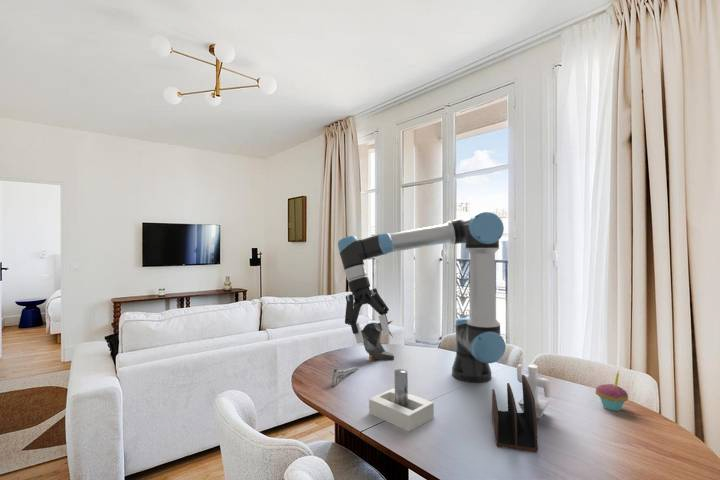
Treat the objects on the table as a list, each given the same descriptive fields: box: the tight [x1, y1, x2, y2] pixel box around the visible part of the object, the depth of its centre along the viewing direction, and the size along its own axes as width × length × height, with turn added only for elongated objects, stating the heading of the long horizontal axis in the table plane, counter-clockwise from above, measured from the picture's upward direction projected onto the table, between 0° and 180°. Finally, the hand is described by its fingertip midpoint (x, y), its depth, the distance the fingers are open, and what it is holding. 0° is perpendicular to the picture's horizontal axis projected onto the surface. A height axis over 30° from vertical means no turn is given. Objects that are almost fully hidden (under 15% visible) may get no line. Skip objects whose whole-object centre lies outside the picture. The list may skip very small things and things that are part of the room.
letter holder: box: [491, 375, 539, 453], centre depth 102 cm, size 10×20×14 cm, turn 163°
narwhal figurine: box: [361, 320, 395, 362], centre depth 167 cm, size 14×15×18 cm
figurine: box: [516, 363, 552, 420], centre depth 111 cm, size 7×9×15 cm
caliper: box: [331, 366, 359, 387], centre depth 144 cm, size 21×1×6 cm, turn 156°
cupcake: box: [594, 370, 629, 412], centre depth 115 cm, size 9×8×12 cm
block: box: [368, 387, 435, 432], centre depth 111 cm, size 16×12×4 cm
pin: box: [393, 368, 409, 408], centre depth 111 cm, size 4×4×12 cm
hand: (374, 337), depth 125 cm, fingers open, 13 cm apart
